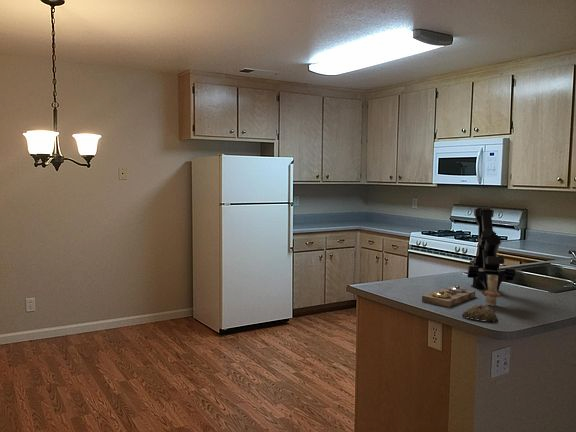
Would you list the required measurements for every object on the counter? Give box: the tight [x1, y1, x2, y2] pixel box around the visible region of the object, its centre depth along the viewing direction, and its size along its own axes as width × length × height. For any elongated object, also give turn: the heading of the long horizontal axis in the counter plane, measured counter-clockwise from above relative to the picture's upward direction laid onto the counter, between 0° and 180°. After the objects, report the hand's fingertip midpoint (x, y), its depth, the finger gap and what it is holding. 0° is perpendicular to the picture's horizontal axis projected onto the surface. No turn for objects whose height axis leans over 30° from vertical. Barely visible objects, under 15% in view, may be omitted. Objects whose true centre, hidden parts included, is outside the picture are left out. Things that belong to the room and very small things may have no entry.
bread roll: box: [461, 304, 498, 322], centre depth 192 cm, size 13×12×5 cm
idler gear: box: [481, 274, 502, 307], centre depth 210 cm, size 7×7×12 cm
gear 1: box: [431, 290, 451, 299], centre depth 213 cm, size 8×8×2 cm
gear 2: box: [447, 285, 468, 293], centre depth 224 cm, size 8×8×2 cm
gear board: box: [421, 286, 476, 308], centre depth 218 cm, size 26×12×2 cm, turn 136°
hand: (492, 290), depth 208 cm, fingers closed on idler gear, 4 cm apart
